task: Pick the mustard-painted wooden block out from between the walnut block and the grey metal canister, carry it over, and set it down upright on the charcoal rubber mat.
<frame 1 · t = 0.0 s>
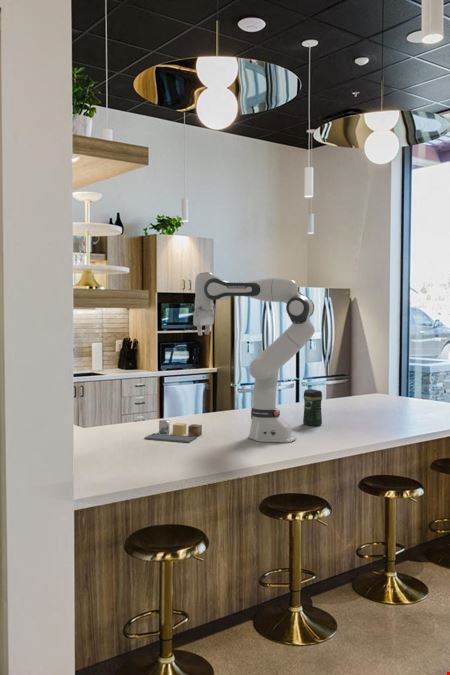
hand: (203, 334, 313), 48 cm above the countertop, fingers open, 8 cm apart
metal canister: (164, 433, 315), on the countertop
walnut block: (195, 435, 310), on the countertop
coffee jar: (312, 424, 341), on the countertop
rubber mat: (170, 438, 302), on the countertop
mustard block: (179, 434, 312), on the countertop
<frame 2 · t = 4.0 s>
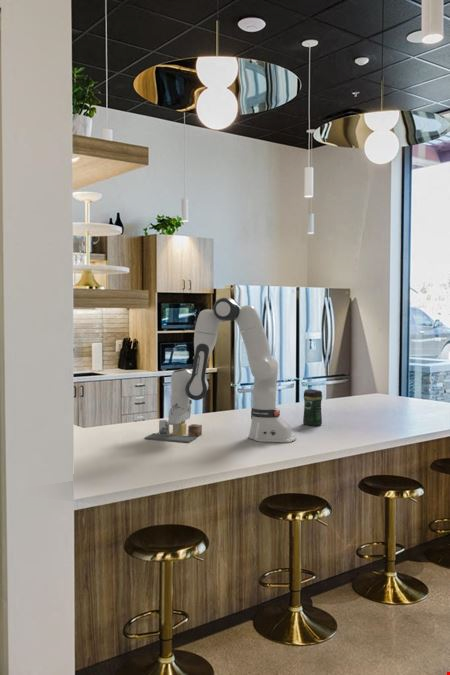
hand: (179, 430, 312), 2 cm above the countertop, fingers closed on mustard block, 5 cm apart
mustard block: (179, 434, 312), on the countertop, touching gripper
everything else where it was.
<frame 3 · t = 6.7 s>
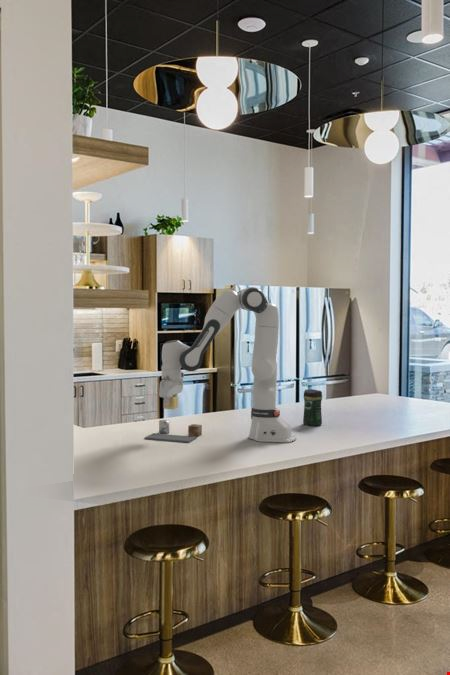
hand: (170, 404, 301), 16 cm above the countertop, fingers closed on mustard block, 5 cm apart
mustard block: (170, 408, 301), point 14 cm above the countertop, touching gripper
everything else where it was.
when the fingers open (4 cm above the countertop, at t = 9.4 s): mustard block drops 1 cm, resting on rubber mat.
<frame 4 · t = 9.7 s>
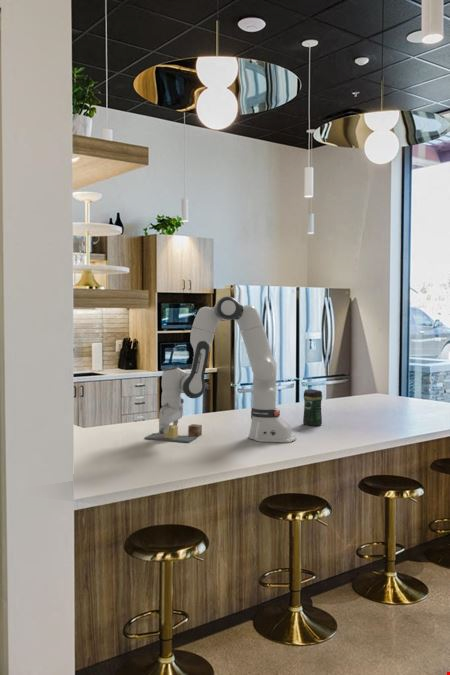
hand: (170, 431, 302), 4 cm above the countertop, fingers open, 8 cm apart
mustard block: (170, 437, 302), point 1 cm above the countertop, touching rubber mat
everything else where it was.
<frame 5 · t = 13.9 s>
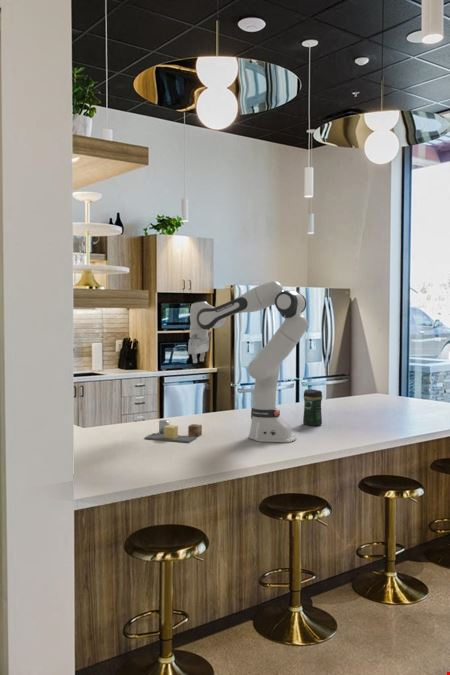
hand: (198, 362, 320), 34 cm above the countertop, fingers open, 8 cm apart
nothing on the countertop moved.
at the end: mustard block inside the target area on the rubber mat (0.0 cm from its centre), point 0.8 cm above the rubber mat's base; mustard block tilted 0°; the gripper is holding nothing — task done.
